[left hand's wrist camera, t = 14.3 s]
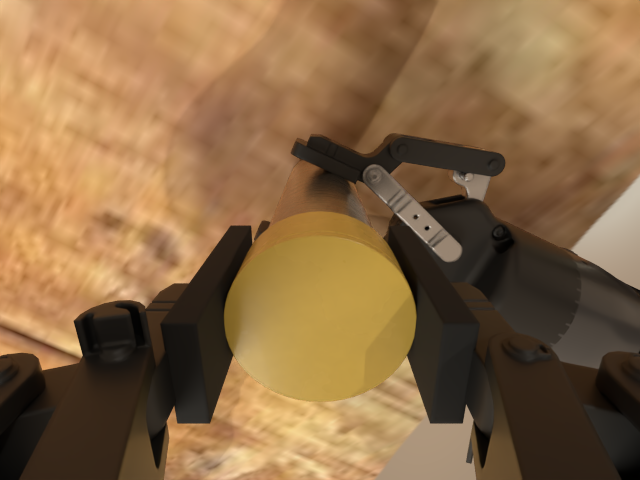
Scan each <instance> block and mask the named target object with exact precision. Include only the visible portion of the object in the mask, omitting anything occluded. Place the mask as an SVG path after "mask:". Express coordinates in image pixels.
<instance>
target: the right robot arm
mask: <svg viewBox="0 0 640 480" xmlns="http://www.w3.org/2000/svg"><path fill="white" fill-rule="evenodd" d="M291 154H292V155H294V156H296V157H298V158H300V159H302V160H304V161H306V162H309V163H311V164H313V165H315V166H317V167H320V168H322V169H324V170H326V171H328V172H330V173H333V174H335V175H337V176H340V177H342V178H343V179H346V180H348V181H350V182H352V183H354V184H356V182H357V180H359V181H361V182H363V183H365V184H366V185H367V186H368V187H369V188H370V189H371V190H372V191H373V192H374V193H375V194H376V195H377V196H378V197H379V198H380V199H381V200H382V201H383V202H384V203H386V204H387V205H388V206H389V208H390V209H391V210H392V211H393V212H394V215H393V217H392V218H391V220H390V223H389V226H410V227H411V229H412V230H413V231H414V233H415V234H416V236H417V237H418V238H419V240H420V241H421V242H422V244H423V245H424V247H425V248H426V249H427V251H428V252H429V254H430V255H431V256H432V258H433V259H434V260H435V262H436V263H437V265H438V266H439V267H440V269H441V270H442V272H443V273H444V274H445V276H446V277H447V278H448V280H449V281H450V282H467V283H468V284H470V285H472V286H474V287H475V288H477V289H479V290H480V291H481V292H482V293H483V294H484V296H485V297H486V298H487V299H488V302H490V303H491V304H492V305H493V306H494V307H495V310H497V311H498V312H499V313H500V314H501V316H502V317H503V318H504V319H505V320H506V321H507V323H508V324H509V325H510V326H511V327H512V329H513V330H514V331H515V332H516V333H520V334H525V335H529V336H531V337H533V338H536V339H538V340H540V341H542V342H543V343H545V344H546V345H548V346H549V347H551V348H552V350H553V351H554V352H555V353H556V354H557V356H558V358H559V360H560V361H562V362H566V363H571V364H576V365H581V366H586V367H591V368H596V369H599V366H600V363H601V360H602V357H603V356H604V355H605V354H607V353H608V352H615V351H623V352H633V353H638V354H640V290H638V289H636V288H634V287H632V286H630V285H628V284H625V283H624V282H622V281H620V280H618V279H617V278H615V277H614V276H613V275H611V274H610V273H608V272H607V271H605V270H604V269H602V268H600V267H599V266H597V265H595V264H593V263H591V262H589V261H587V260H585V259H583V258H581V257H579V256H578V255H577V254H575V253H574V252H573V251H570V250H568V249H565V248H561V247H558V246H556V245H554V244H552V243H549V242H547V241H545V240H543V239H541V238H539V237H537V236H535V235H533V234H530V233H528V232H526V231H524V230H522V229H520V228H518V227H516V226H514V225H511V224H509V223H507V222H505V221H503V220H501V219H499V218H497V217H495V216H494V215H493V214H492V213H491V211H490V209H489V207H488V206H487V205H486V204H485V203H484V202H483V200H484V197H485V194H486V191H487V188H488V185H489V182H490V179H491V177H492V176H496V175H498V174H500V173H501V172H502V171H503V169H504V167H505V159H504V157H503V156H502V155H501V154H499V153H496V152H492V151H489V150H485V149H482V148H478V147H472V146H466V145H461V144H455V143H449V142H443V141H437V140H431V139H425V138H419V137H414V136H408V135H402V134H396V133H393V134H389V135H388V136H387V137H386V138H385V139H384V141H383V143H382V144H381V145H380V146H379V147H378V148H377V149H376V150H375V151H373V152H372V153H369V154H361V153H358V152H356V151H354V150H352V149H350V148H348V147H346V146H344V145H342V144H339V143H337V142H335V141H333V140H331V139H329V138H327V137H325V136H323V135H317V134H311V136H310V138H309V140H308V142H306V141H304V140H302V139H299V138H297V139H296V141H295V144H294V146H293V148H292V151H291ZM402 162H406V163H412V164H418V165H424V166H430V167H436V168H442V169H448V177H449V179H450V180H452V181H453V182H455V183H457V184H458V185H460V186H461V188H462V194H461V195H456V196H450V197H445V198H440V199H435V200H430V201H424V202H419V203H418V202H417V201H416V200H415V199H414V198H413V197H412V196H411V195H410V194H409V193H408V192H407V191H406V190H405V189H404V188H403V187H402V186H401V185H400V184H399V183H398V182H397V181H396V180H395V179H394V178H393V177H392V176H391V175H390V173H391V172H392V171H393V170H394V169H396V168H397V167H398V166H399V165H400V164H401V163H402ZM270 223H271V222H268V221H262V222H261V224H260V226H259V228H258V231H257V233H256V235H255V238H254V240H256V239H257V238H258V237H259V236H260V235H261V234H262V233H263V232H264V231H266V230H267V229H268V228H269V225H270ZM388 236H389V227H388V231H387V234H386V236H385V237H384V238H383V239H384V240H385V241H386V242H387V244H388Z"/></svg>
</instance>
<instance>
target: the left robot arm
mask: <svg viewBox="0 0 640 480" xmlns="http://www.w3.org/2000/svg"><path fill="white" fill-rule="evenodd" d="M388 245H389V247H390V248H391V250H392V252H393V253H394V255H395V257H396V260H397V262H398V264H399V266H400V268H401V270H402V272H403V274H404V276H405V278H406V280H407V282H408V284H409V287H410V289H411V291H412V293H413V297H414V300H415V304H416V312H417V317H416V328H415V336H414V340H413V343H412V345H411V348H410V350H409V352H408V354H407V357H408V360H409V363H410V365H411V368H412V371H413V374H414V377H415V380H416V383H417V386H418V389H419V392H420V395H421V398H422V400H423V403H424V406H425V409H426V412H427V415H428V418H429V421H430V423H463V419H464V413H465V407H466V404H467V407H468V409H469V411H470V413H471V415H472V417H473V419H474V421H473V427H472V432H471V437H470V443H469V448H468V453H467V460H466V462H467V463H472V458H473V457H474V465H475V472H476V480H640V354H638V353H633V352H623V351H615V352H608V353H607V354H605V355H604V356H603V357H602V360H601V363H600V366H599V369H596V368H591V367H586V366H581V365H576V364H571V363H566V362H562V361H560V360H559V358H558V356H557V354H556V353H555V352H554V351H553V350H552V348H551V347H549V346H548V345H546V344H545V343H543V342H542V341H540V340H538V339H536V338H533V337H531V336H529V335H525V334H520V333H516V332H515V331H514V330H513V329H512V327H511V326H510V325H509V324H508V323H507V321H506V320H505V319H504V318H503V317H502V316H501V314H500V313H499V312H498V311H497V310H495V307H494V306H493V305H492V304H491V303H490V302H488V299H487V298H486V297H485V296H484V294H483V293H482V292H481V291H480V290H479V289H477V288H475V287H474V286H472V285H470V284H468V283H467V282H450V281H449V280H448V278H447V277H446V276H445V274H444V273H443V272H442V270H441V269H440V267H439V266H438V265H437V263H436V262H435V260H434V259H433V258H432V256H431V255H430V254H429V252H428V251H427V249H426V248H425V247H424V245H423V244H422V242H421V241H420V240H419V238H418V237H417V236H416V234H415V233H414V231H413V230H412V229H411V227H410V226H389V236H388ZM251 246H252V233H251V226H230V228H229V229H228V230H227V232H226V233H225V234H224V236H223V237H222V239H221V240H220V241H219V243H218V244H217V246H216V247H215V248H214V250H213V251H212V252H211V254H210V255H209V257H208V258H207V259H206V261H205V262H204V264H203V265H202V266H201V268H200V269H199V271H198V272H197V273H196V275H195V276H194V277H193V279H192V280H191V282H190V283H189V284H172V285H171V286H169V287H167V288H166V289H164V290H162V291H161V292H160V293H159V294H158V295H157V296H156V297H155V299H154V300H153V301H152V303H150V305H149V306H148V307H147V308H146V309H145V306H144V305H143V304H141V303H140V302H136V301H131V300H125V301H114V302H109V303H104V304H101V305H99V306H96V307H93V308H91V309H89V310H87V311H85V312H84V313H82V314H80V315H79V316H78V317H77V318H76V319H75V320H74V324H75V328H76V332H77V335H78V339H79V343H80V347H81V350H82V354H83V356H82V358H81V360H80V362H79V363H77V364H73V365H68V366H63V367H58V368H53V369H48V370H43V371H42V368H41V365H40V362H39V359H38V358H37V357H36V356H34V355H33V354H28V353H16V354H7V355H2V356H0V480H164V473H165V465H166V458H167V450H168V443H169V433H168V426H167V419H168V417H169V415H170V413H171V411H172V409H173V407H174V406H175V411H176V417H177V423H210V422H211V419H212V416H213V413H214V410H215V407H216V404H217V401H218V398H219V395H220V392H221V389H222V387H223V384H224V381H225V378H226V375H227V372H228V369H229V366H230V363H231V360H232V357H233V353H232V351H231V349H230V347H229V345H228V341H227V338H226V334H225V325H224V307H225V302H226V298H227V295H228V292H229V290H230V288H231V285H232V283H233V281H234V279H235V277H236V275H237V273H238V271H239V269H240V267H241V265H242V263H243V260H244V258H245V256H246V254H247V252H248V250H249V249H250V247H251Z"/></svg>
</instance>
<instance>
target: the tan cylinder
mask: <svg viewBox="0 0 640 480" xmlns="http://www.w3.org/2000/svg"><path fill="white" fill-rule="evenodd" d="M317 211H324V212H334V213H339V214H344V215H347V216H350V217H353V218H355V219H357V220H359V221H361V222H363V223H365V224H366V225H368V226H369V227H371V228H372V226H371V223H370V221H369V218H368V216H367V214H366V211H365V209H364V206H363V204H362V202H361V199H360V197H359V194H358V192H357V190H356V187H355V185H354V183H352V182H350V181H348V180H346V179H343V178H342V177H340V176H337V175H335V174H333V173H330V172H328V171H326V170H324V169H322V168H320V167H317V166H315V165H313V164H311V163H309V162H306V161H304V160H301V161H299V162H298V163H297V164H296V165H295V167H294V168H293V170H292V172H291V174H290V177H289V179H288V181H287V184H286V186H285V189H284V191H283V194H282V196H281V198H280V201H279V203H278V206H277V208H276V211H275V213H274V215H273V218H272V220H271V223H270V225H269V227H271V226H272V225H274V224H275V223H277V222H279V221H281V220H283V219H285V218H287V217H290V216H294V215H297V214H301V213H306V212H317ZM372 229H373V228H372Z"/></svg>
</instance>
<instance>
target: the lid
mask: <svg viewBox="0 0 640 480" xmlns="http://www.w3.org/2000/svg"><path fill="white" fill-rule="evenodd" d="M416 317H417V312H416V304H415V300H414V297H413V293H412V291H411V289H410V287H409V284H408V282H407V280H406V278H405V276H404V274H403V272H402V270H401V268H400V266H399V264H398V262H397V260H396V257H395V255H394V253H393V252H392V250H391V248H390V247H389V245H388V244H387V242H386V241H385V240H384V239H383V238H382V237H381V236H380V235H379V234H378V233H377V232H376V231H375V230H374V229H372V228H371V227H369V226H368V225H366V224H365V223H363V222H361V221H359V220H357V219H355V218H353V217H350V216H347V215H344V214H339V213H334V212H324V211H317V212H306V213H301V214H297V215H294V216H290V217H287V218H285V219H283V220H281V221H279V222H277V223H275V224H274V225H272V226H271V227H269V228H268V229H267V230H266V231H264V232H263V233H262V234H261V235H260V236H259V237H258V238H257V239H256V240H255V242H254V243H253V244H252V246H251V247H250V249H249V250H248V252H247V254H246V256H245V258H244V260H243V263H242V265H241V267H240V269H239V271H238V273H237V275H236V277H235V279H234V281H233V283H232V285H231V288H230V290H229V292H228V295H227V298H226V302H225V307H224V325H225V334H226V338H227V341H228V345H229V347H230V349H231V351H232V353H233V355H234V357H235V358H236V360H237V361H238V363H239V364H240V366H241V367H242V368H243V369H244V370H245V371H246V372H247V373H248V374H249V375H250V376H251V377H252V378H253V379H254V380H256V381H257V382H258V383H260V384H261V385H263V386H264V387H266V388H268V389H270V390H272V391H274V392H276V393H278V394H281V395H283V396H286V397H290V398H293V399H298V400H304V401H313V402H328V401H337V400H343V399H347V398H351V397H354V396H357V395H360V394H362V393H365V392H367V391H369V390H371V389H373V388H374V387H376V386H377V385H379V384H381V383H382V382H384V381H385V380H386V379H387V378H388V377H389V376H391V375H392V374H393V373H394V372H395V371H396V369H397V368H398V367H399V366H400V365H401V363H402V362H403V361H404V359H405V358H406V356H407V354H408V352H409V350H410V348H411V345H412V343H413V340H414V336H415V328H416Z"/></svg>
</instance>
